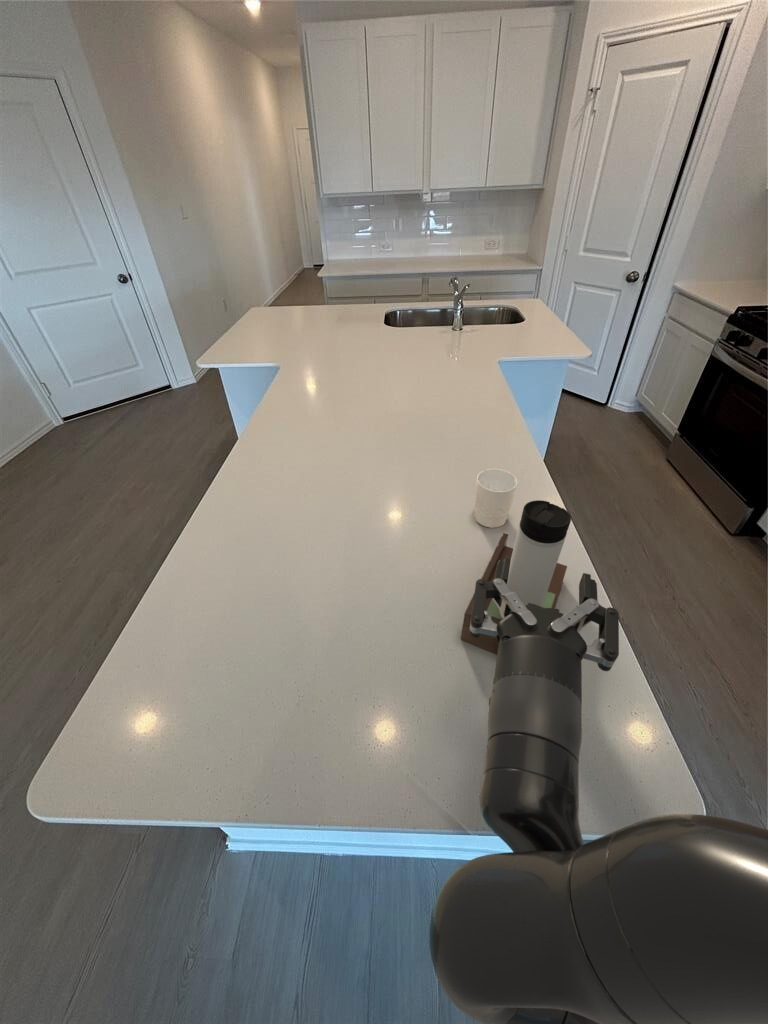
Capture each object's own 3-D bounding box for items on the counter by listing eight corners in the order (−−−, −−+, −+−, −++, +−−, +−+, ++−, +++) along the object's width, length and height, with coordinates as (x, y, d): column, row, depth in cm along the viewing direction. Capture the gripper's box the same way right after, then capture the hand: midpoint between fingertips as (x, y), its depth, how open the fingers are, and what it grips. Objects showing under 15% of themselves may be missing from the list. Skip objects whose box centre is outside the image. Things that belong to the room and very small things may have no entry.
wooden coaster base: (561, 580, 80) (571, 554, 75) (535, 670, 67) (544, 645, 62) (497, 559, 84) (503, 532, 80) (460, 639, 71) (464, 613, 67)
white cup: (511, 510, 95) (520, 472, 89) (506, 533, 90) (514, 495, 83) (475, 502, 97) (481, 465, 91) (467, 525, 92) (473, 487, 85)
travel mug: (492, 606, 71) (513, 512, 58) (513, 582, 74) (537, 489, 61) (527, 628, 68) (558, 534, 55) (548, 602, 71) (581, 508, 58)
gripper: (638, 706, 34) (623, 560, 46) (458, 657, 38) (485, 534, 50) (609, 745, 39) (602, 604, 51) (452, 699, 43) (478, 577, 54)
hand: (544, 570), depth 50 cm, fingers open, 8 cm apart
